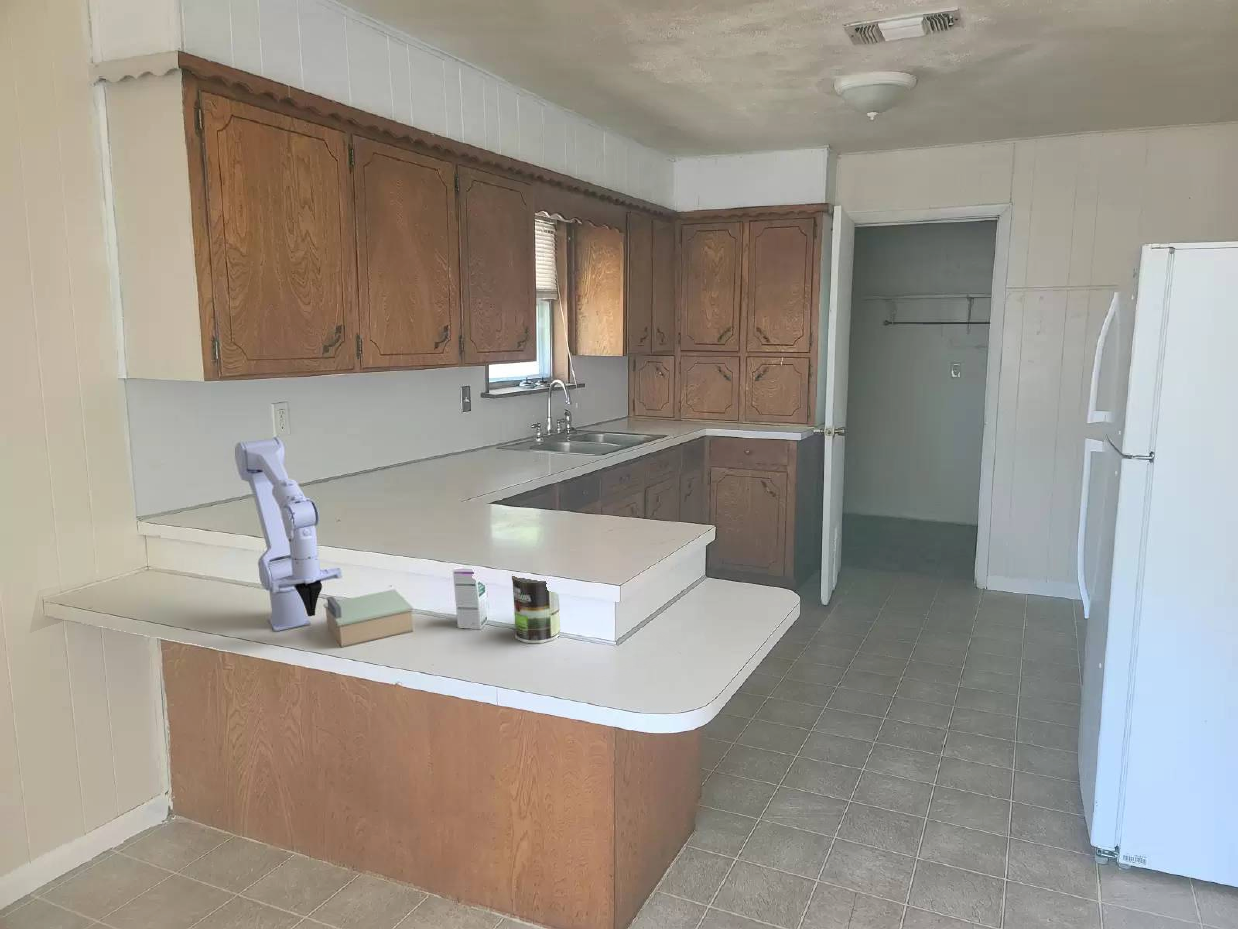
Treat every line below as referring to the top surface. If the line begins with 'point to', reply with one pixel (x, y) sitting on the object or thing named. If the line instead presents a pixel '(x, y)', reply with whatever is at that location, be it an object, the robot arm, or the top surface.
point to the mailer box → (370, 628)
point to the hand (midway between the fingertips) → (311, 614)
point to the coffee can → (535, 611)
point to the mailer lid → (366, 607)
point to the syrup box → (469, 599)
